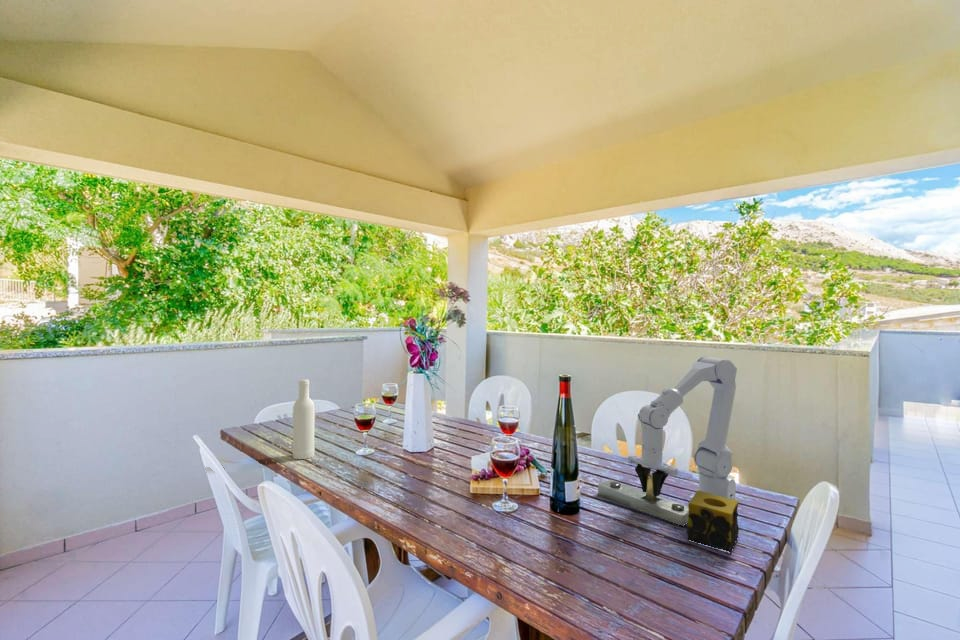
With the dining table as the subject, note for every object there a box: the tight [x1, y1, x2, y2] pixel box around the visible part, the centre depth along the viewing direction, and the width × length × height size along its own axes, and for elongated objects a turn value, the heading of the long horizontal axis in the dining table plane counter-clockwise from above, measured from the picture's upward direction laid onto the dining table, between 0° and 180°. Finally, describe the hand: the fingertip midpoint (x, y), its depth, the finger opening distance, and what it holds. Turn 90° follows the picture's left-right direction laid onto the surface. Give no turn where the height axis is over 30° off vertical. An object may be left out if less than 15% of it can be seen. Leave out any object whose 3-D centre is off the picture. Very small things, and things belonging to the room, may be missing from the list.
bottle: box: [292, 379, 316, 460], centre depth 170 cm, size 8×8×30 cm
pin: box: [646, 472, 657, 501], centre depth 128 cm, size 3×3×7 cm
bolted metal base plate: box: [597, 479, 689, 527], centre depth 130 cm, size 27×7×4 cm, turn 39°
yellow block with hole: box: [686, 490, 740, 552], centre depth 111 cm, size 10×10×10 cm
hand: (651, 493), depth 128 cm, fingers closed on pin, 3 cm apart
